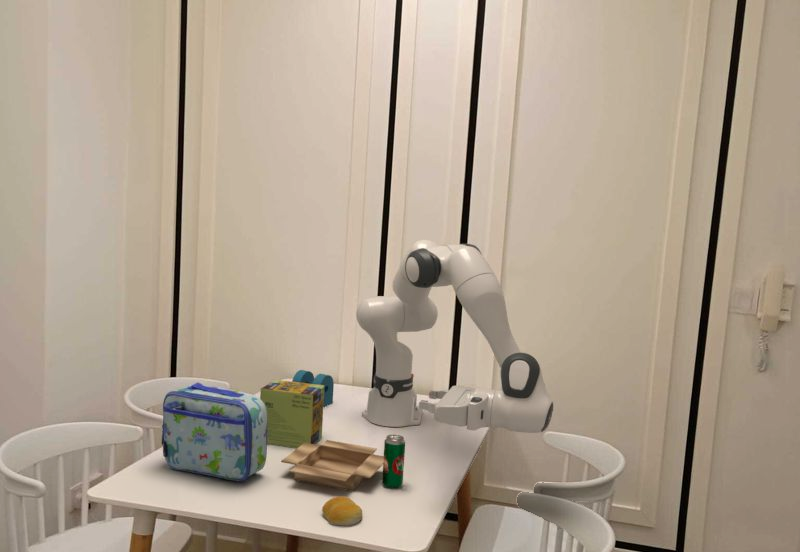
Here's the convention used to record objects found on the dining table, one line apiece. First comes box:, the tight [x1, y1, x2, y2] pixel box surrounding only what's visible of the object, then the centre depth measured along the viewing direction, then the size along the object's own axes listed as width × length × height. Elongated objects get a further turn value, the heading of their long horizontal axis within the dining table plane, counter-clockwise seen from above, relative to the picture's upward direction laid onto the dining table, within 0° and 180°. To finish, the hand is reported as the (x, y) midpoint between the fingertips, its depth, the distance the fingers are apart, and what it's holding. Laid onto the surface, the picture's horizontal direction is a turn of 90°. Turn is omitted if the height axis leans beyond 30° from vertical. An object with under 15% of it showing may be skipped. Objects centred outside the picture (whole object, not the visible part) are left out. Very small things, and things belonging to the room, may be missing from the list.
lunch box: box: [161, 382, 268, 482], centre depth 176 cm, size 26×11×21 cm, turn 68°
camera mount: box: [291, 369, 335, 408], centre depth 232 cm, size 18×10×10 cm, turn 154°
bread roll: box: [321, 496, 363, 527], centre depth 157 cm, size 8×9×4 cm
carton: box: [280, 439, 384, 492], centre depth 179 cm, size 23×23×4 cm
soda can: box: [381, 434, 406, 489], centre depth 175 cm, size 5×5×12 cm
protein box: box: [259, 379, 324, 449], centre depth 201 cm, size 10×15×16 cm
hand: (424, 399), depth 173 cm, fingers open, 8 cm apart
